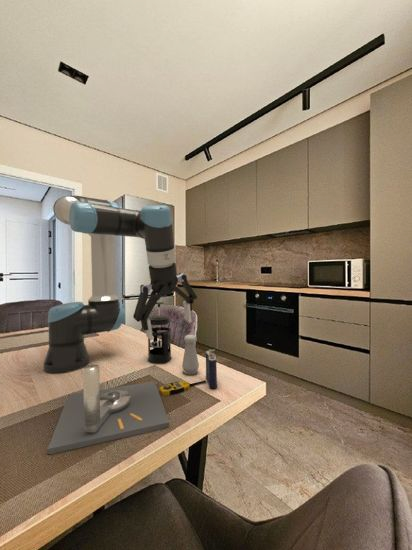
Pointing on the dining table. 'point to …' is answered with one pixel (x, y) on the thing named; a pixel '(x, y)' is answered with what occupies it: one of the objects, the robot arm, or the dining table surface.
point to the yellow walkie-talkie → (176, 387)
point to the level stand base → (110, 419)
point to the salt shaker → (190, 355)
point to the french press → (163, 347)
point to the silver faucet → (99, 400)
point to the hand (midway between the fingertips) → (169, 328)
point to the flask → (211, 369)
